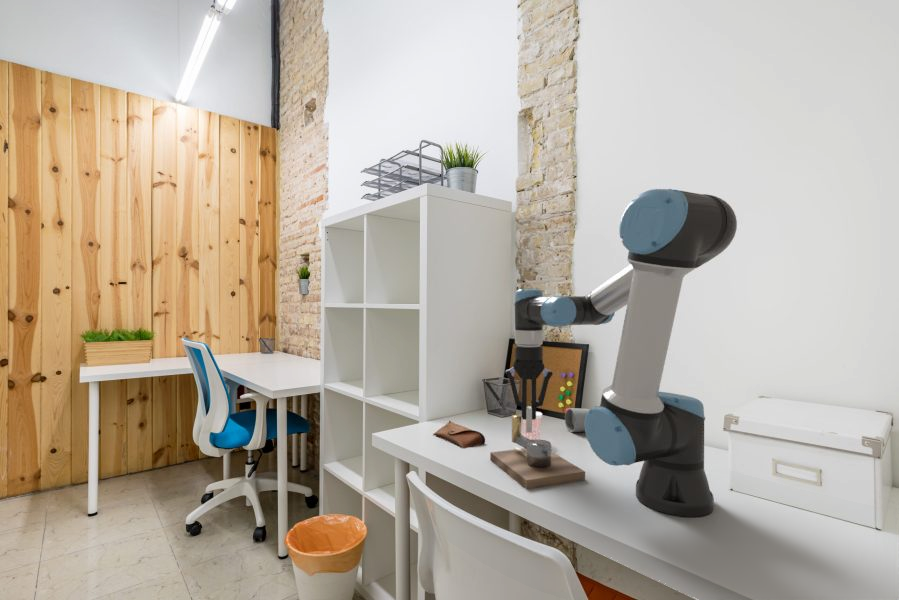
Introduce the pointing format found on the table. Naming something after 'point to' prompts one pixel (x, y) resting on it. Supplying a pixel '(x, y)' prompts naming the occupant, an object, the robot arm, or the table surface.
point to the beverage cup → (534, 427)
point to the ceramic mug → (575, 419)
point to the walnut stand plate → (536, 469)
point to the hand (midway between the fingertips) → (528, 430)
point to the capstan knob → (531, 445)
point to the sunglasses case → (460, 435)
